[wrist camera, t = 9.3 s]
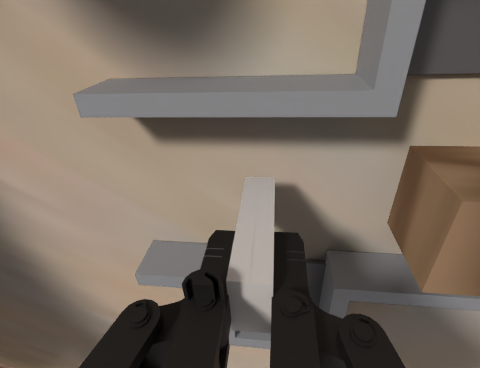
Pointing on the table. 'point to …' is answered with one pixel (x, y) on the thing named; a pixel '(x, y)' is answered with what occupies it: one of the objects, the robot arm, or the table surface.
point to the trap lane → (315, 105)
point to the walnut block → (440, 218)
